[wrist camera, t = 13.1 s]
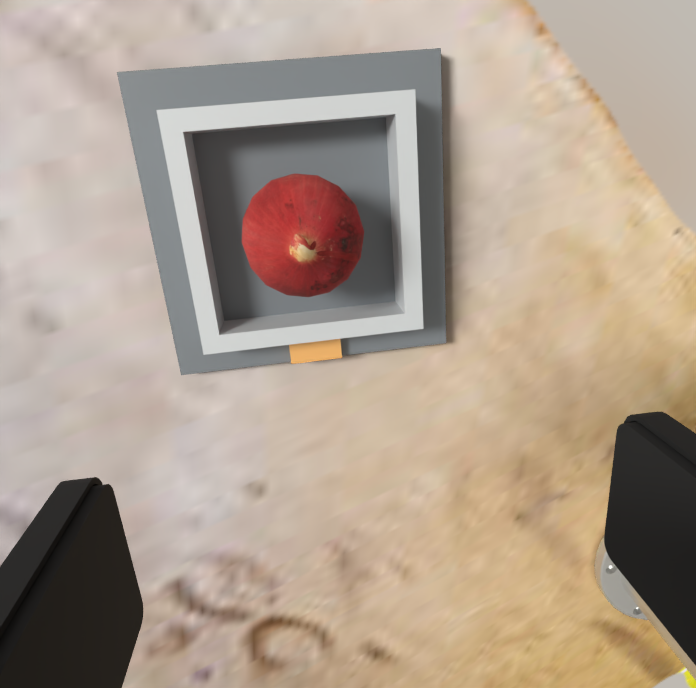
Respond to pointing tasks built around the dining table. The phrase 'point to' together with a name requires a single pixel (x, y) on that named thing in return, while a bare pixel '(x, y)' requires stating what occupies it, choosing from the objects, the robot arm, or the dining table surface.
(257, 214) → the onion
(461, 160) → the dining table surface
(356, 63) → the tray
